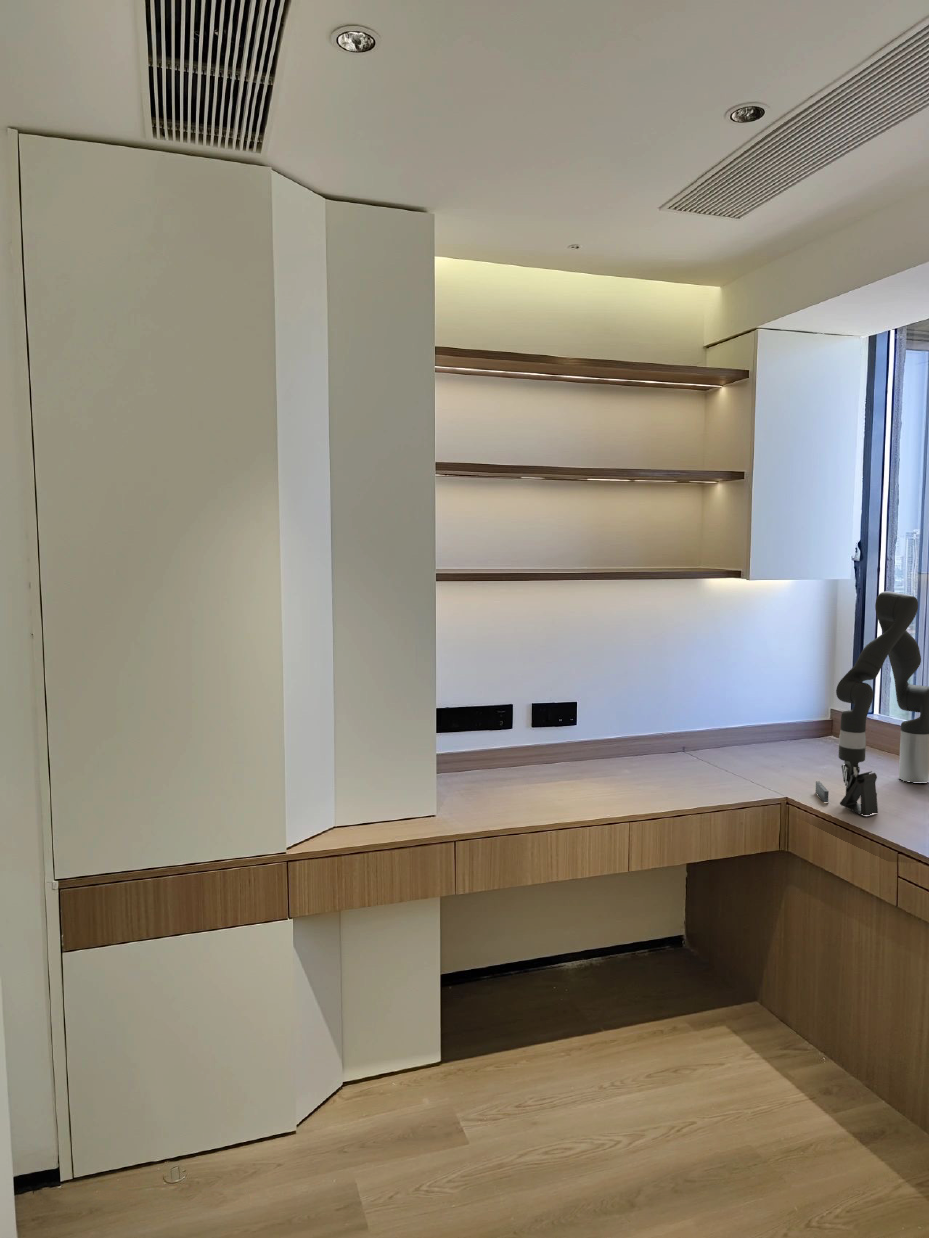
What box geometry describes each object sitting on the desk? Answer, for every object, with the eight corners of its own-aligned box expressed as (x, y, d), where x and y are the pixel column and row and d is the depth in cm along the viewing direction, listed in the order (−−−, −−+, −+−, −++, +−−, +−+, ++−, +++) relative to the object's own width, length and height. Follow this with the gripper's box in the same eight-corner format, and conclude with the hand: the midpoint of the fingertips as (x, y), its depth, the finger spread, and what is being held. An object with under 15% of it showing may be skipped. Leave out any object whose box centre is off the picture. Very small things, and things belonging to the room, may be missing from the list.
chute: (815, 793, 270) (815, 781, 270) (865, 795, 267) (866, 783, 267) (824, 803, 259) (824, 791, 259) (876, 805, 257) (876, 793, 256)
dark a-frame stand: (877, 814, 249) (887, 778, 245) (865, 817, 246) (875, 781, 242) (851, 800, 256) (860, 765, 253) (839, 804, 253) (848, 768, 250)
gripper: (871, 750, 247) (869, 806, 249) (859, 739, 260) (856, 793, 262) (845, 749, 249) (842, 805, 251) (833, 739, 262) (831, 791, 263)
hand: (849, 798), depth 256 cm, fingers closed
